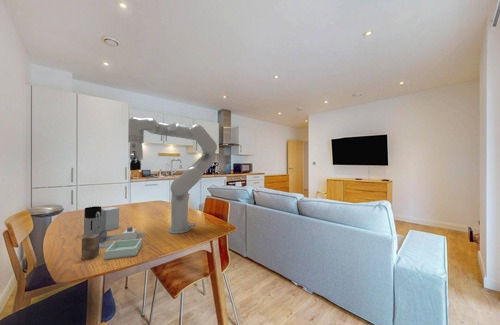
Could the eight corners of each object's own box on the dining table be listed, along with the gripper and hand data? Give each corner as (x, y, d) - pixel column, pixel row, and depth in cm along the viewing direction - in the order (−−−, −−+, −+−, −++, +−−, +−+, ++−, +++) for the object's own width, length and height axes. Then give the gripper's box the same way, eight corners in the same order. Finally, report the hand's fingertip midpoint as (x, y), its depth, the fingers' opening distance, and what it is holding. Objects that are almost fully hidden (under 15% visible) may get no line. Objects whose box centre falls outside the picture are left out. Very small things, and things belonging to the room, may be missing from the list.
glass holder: (99, 230, 117) (99, 205, 117) (108, 235, 109) (109, 208, 109) (80, 234, 110) (80, 208, 110) (89, 240, 102) (89, 211, 102)
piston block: (136, 238, 105) (136, 225, 105) (133, 242, 99) (133, 229, 99) (125, 239, 104) (126, 226, 104) (122, 243, 98) (122, 230, 98)
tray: (141, 245, 96) (142, 238, 96) (135, 256, 85) (136, 248, 85) (114, 248, 93) (114, 241, 93) (104, 259, 81) (104, 251, 82)
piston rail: (144, 236, 109) (144, 227, 109) (140, 243, 98) (140, 233, 98) (102, 240, 103) (102, 230, 103) (92, 248, 92) (92, 238, 92)
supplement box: (119, 228, 121) (119, 207, 121) (105, 231, 115) (105, 210, 115) (113, 226, 125) (113, 206, 125) (99, 229, 119) (100, 208, 119)
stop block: (98, 254, 87) (99, 233, 87) (94, 258, 82) (94, 237, 82) (86, 255, 85) (87, 234, 85) (81, 260, 81) (81, 238, 81)
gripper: (140, 138, 104) (139, 170, 104) (146, 141, 121) (145, 169, 121) (124, 137, 102) (123, 170, 102) (132, 141, 118) (132, 169, 118)
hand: (135, 170), depth 111 cm, fingers open, 9 cm apart
